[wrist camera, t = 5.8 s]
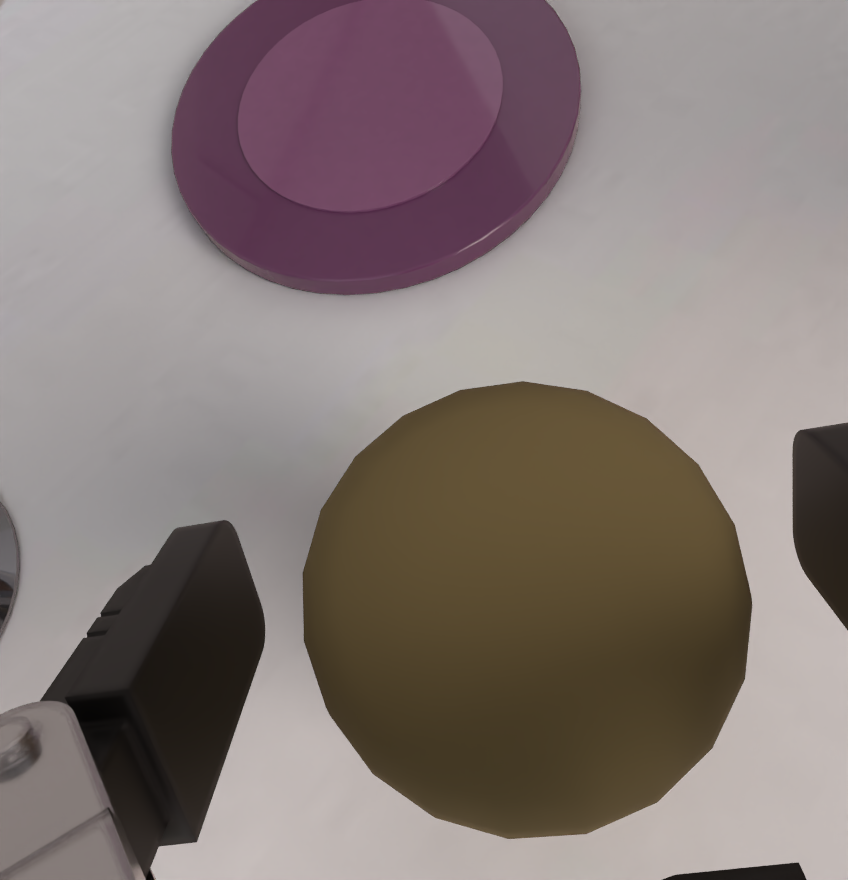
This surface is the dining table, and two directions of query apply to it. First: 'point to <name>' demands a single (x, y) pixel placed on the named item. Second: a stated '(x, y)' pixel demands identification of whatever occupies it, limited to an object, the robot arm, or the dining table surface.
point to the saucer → (374, 136)
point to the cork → (527, 610)
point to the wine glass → (7, 566)
